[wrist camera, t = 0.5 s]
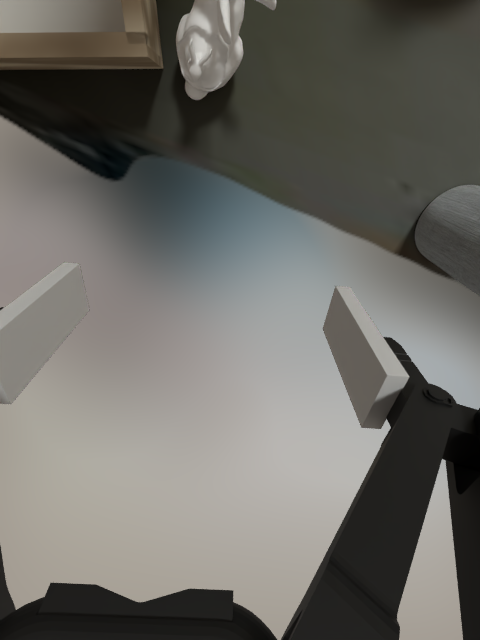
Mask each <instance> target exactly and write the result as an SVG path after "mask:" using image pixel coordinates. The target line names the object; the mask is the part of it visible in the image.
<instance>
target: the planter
mask: <svg viewBox="0 0 480 640" xmlns="http://www.w3.org/2000/svg"><path fill="white" fill-rule="evenodd" d="M415 243H416V246H417V248H418V250H419V252H420V253H421V254H422V255H423V256H424V257H426V258H427V259H428V260H429V261H431V262H432V263H434V264H435V265H436V266H438V267H439V268H441V269H442V270H443V271H445V272H446V273H448V274H449V275H450V276H452V277H453V278H455V279H456V280H458V281H459V282H460V283H462V284H463V285H465V286H466V287H467V288H469V289H470V290H472V291H473V292H474V293H476V294H477V295H479V296H480V186H477V185H462V186H458V187H455V188H452V189H450V190H448V191H446V192H444V193H442V194H441V195H439V196H438V197H437V198H435V199H434V200H433V201H432V202H431V203H430V204H429V205H428V206H427V208H426V209H425V210H424V211H423V213H422V215H421V216H420V218H419V220H418V223H417V225H416V229H415Z"/></svg>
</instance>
